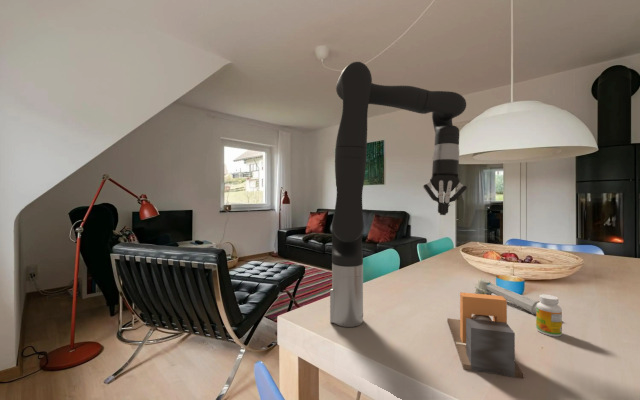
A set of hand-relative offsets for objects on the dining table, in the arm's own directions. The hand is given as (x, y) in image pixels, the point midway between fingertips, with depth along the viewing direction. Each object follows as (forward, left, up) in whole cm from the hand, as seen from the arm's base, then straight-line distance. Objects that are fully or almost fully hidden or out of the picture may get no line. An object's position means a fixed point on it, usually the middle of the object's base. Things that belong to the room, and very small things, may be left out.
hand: (442, 214), depth 87 cm
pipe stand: (+6, -17, -31) cm, 36 cm away
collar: (+6, -21, -29) cm, 36 cm away
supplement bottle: (+26, -4, -32) cm, 41 cm away
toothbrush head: (+23, +16, -32) cm, 42 cm away
